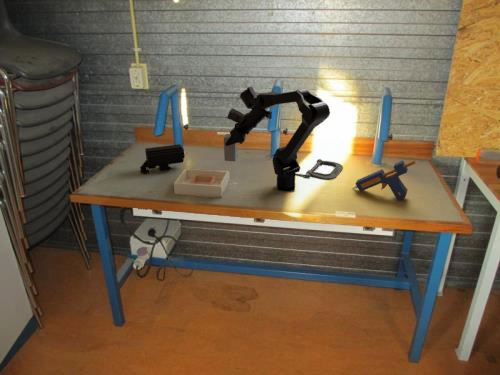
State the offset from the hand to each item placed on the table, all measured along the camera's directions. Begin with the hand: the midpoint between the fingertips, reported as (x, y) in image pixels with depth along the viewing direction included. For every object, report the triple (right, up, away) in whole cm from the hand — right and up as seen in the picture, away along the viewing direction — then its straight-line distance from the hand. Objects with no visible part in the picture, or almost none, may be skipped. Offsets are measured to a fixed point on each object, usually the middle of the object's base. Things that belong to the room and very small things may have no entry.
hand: (227, 143), depth 161 cm
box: (-9, -18, -8) cm, 22 cm away
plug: (+1, -6, +3) cm, 7 cm away
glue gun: (+57, -21, -13) cm, 63 cm away
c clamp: (+39, -12, +7) cm, 41 cm away
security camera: (-28, -11, +8) cm, 31 cm away
